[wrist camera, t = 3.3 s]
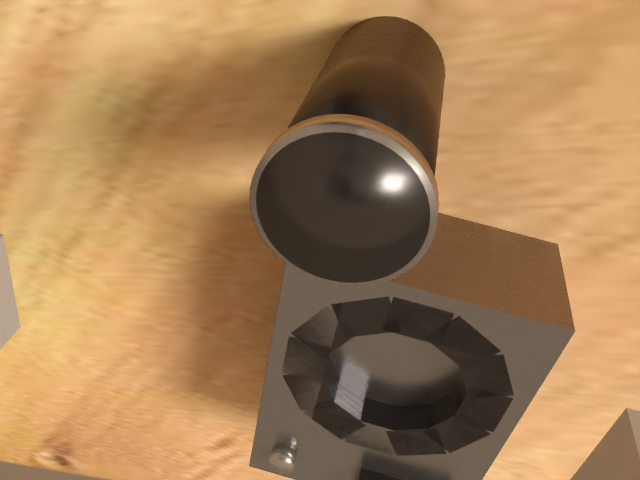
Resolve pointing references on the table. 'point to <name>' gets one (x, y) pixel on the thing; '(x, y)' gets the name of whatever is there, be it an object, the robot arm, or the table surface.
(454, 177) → the table surface
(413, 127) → the lens
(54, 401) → the table surface
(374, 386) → the grey block with hole
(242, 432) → the table surface
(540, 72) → the table surface
